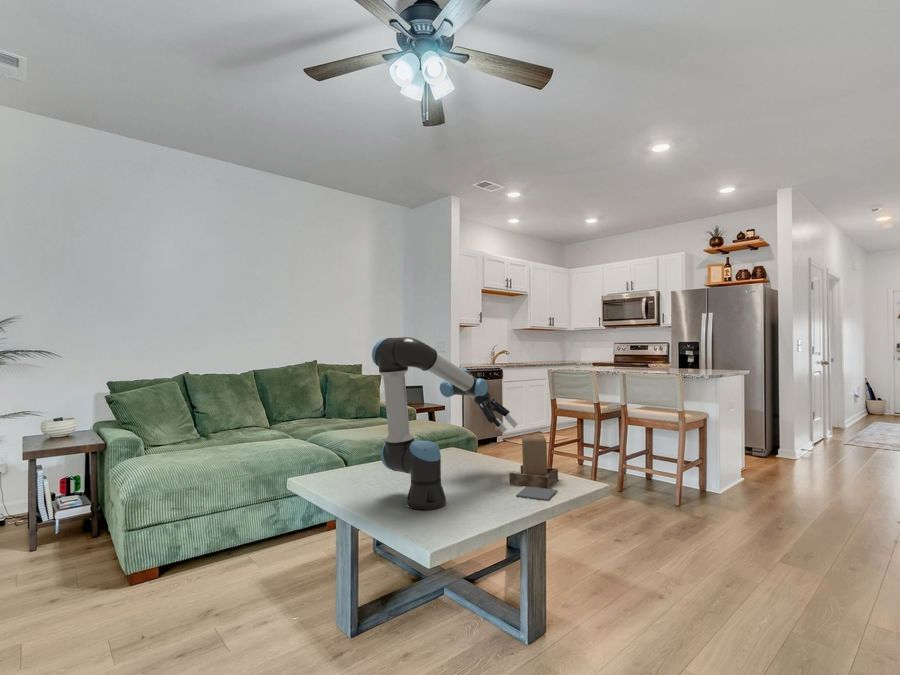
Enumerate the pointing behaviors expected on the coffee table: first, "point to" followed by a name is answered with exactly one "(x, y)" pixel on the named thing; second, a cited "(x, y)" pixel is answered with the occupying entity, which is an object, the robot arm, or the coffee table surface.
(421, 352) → the robot arm
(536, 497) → the pad
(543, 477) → the wooden u-shaped frame
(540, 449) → the wooden block
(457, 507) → the coffee table surface
